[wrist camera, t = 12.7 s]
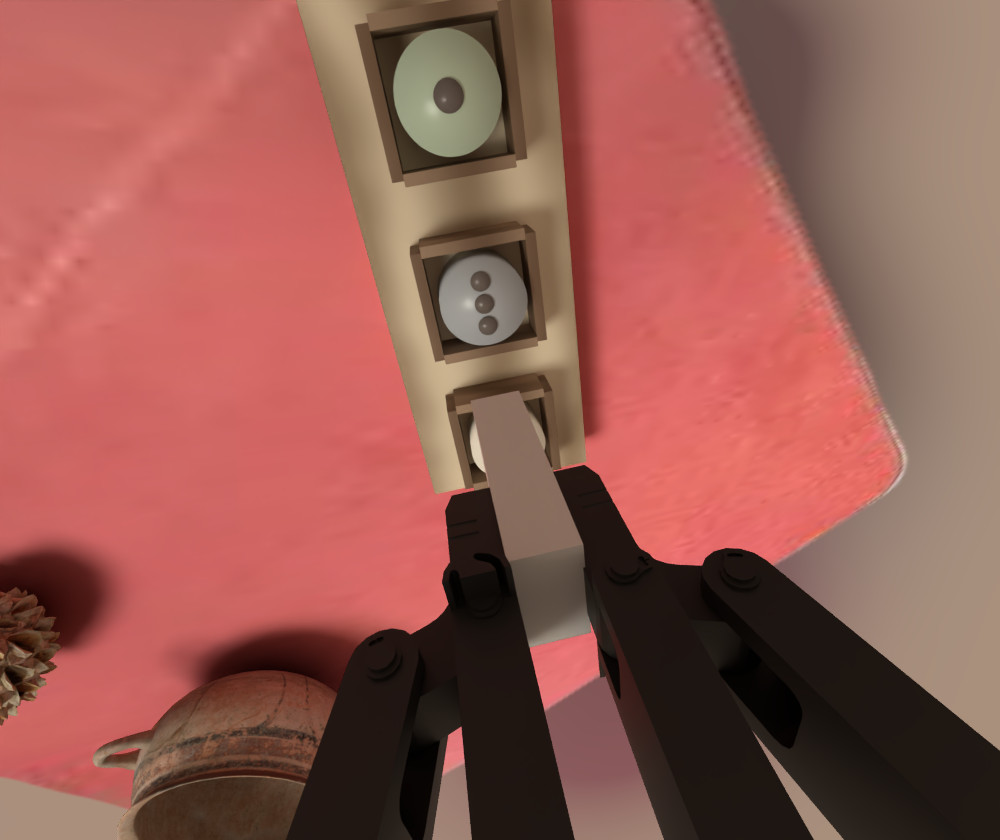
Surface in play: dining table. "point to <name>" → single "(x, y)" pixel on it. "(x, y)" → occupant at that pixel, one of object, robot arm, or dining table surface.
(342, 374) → the dining table surface
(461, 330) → the button three
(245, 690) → the cooking pot
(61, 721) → the dining table surface
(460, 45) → the button one
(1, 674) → the pine cone
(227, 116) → the dining table surface
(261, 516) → the dining table surface
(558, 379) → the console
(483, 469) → the button two
